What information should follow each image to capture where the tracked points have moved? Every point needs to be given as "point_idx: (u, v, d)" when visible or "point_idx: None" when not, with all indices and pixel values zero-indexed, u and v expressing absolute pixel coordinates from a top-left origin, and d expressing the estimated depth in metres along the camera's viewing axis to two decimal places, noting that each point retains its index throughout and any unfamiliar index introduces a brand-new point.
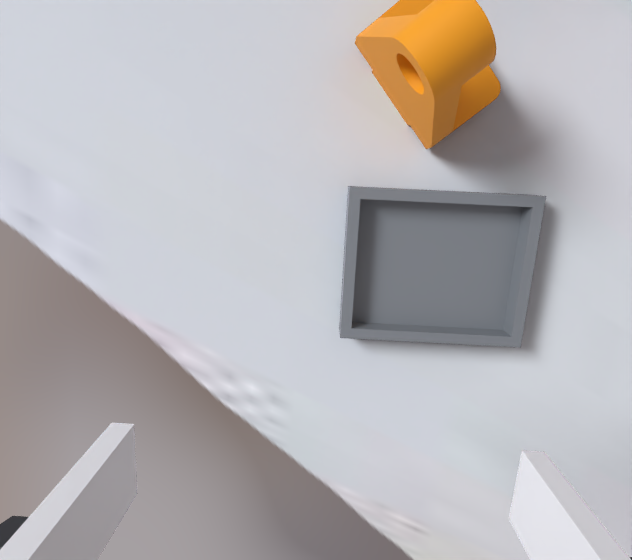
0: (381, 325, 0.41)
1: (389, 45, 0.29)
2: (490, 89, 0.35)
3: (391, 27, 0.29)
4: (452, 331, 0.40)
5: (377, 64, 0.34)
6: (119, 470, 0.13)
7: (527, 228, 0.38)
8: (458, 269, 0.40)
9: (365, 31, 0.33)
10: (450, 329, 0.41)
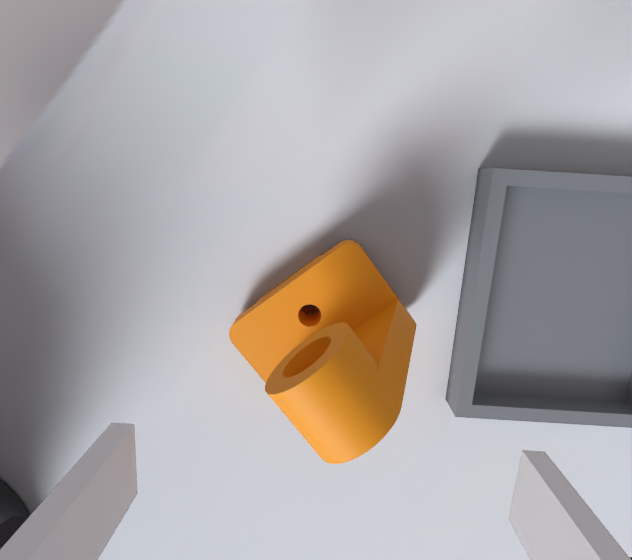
0: None
1: None
2: (350, 255, 0.27)
3: None
4: None
5: None
6: (119, 470, 0.13)
7: (534, 187, 0.27)
8: (573, 266, 0.29)
9: None
10: None
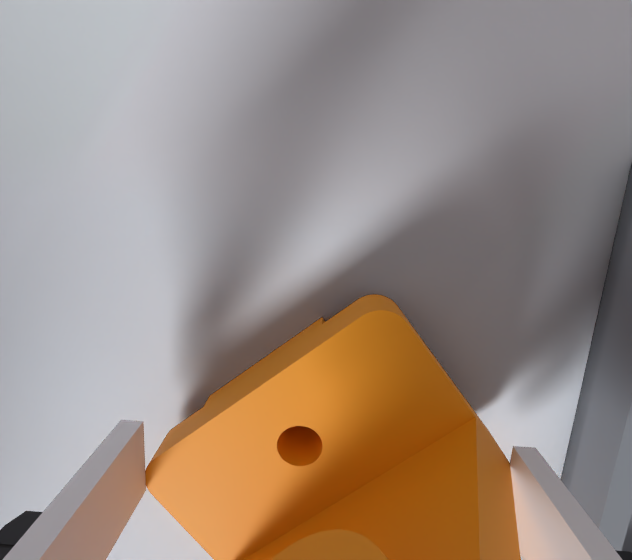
0: None
1: None
2: (382, 333, 0.13)
3: None
4: None
5: None
6: (129, 467, 0.13)
7: None
8: None
9: None
10: None
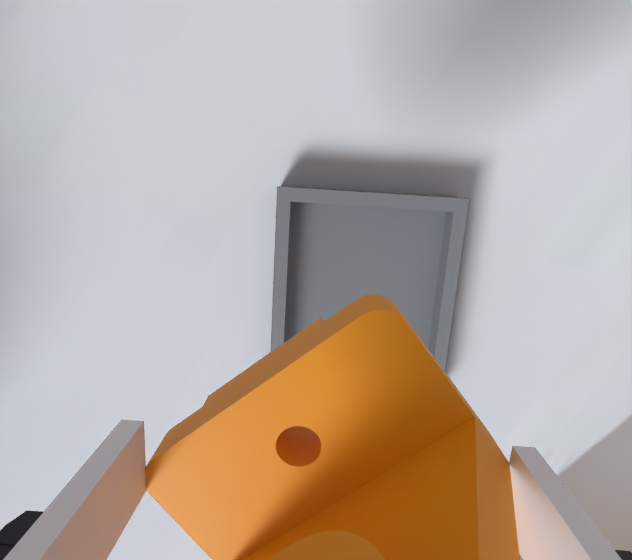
0: None
1: None
2: (380, 334, 0.13)
3: None
4: (442, 280, 0.33)
5: None
6: (129, 466, 0.13)
7: (316, 202, 0.31)
8: (366, 270, 0.34)
9: None
10: (440, 278, 0.34)
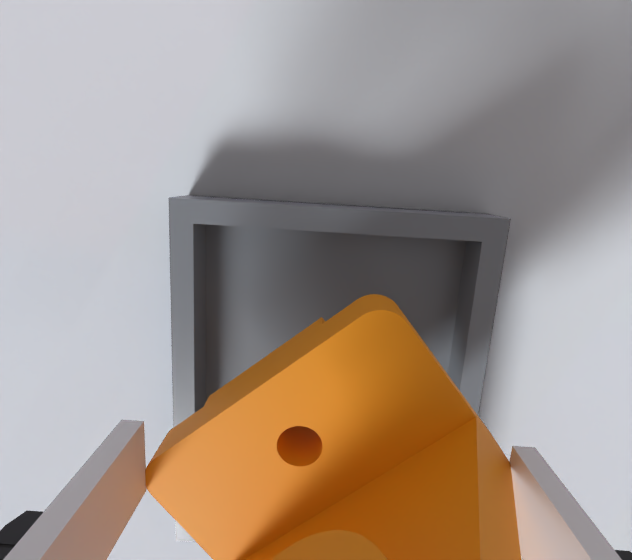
0: None
1: None
2: (382, 333, 0.13)
3: None
4: (460, 355, 0.19)
5: None
6: (129, 466, 0.13)
7: None
8: None
9: None
10: (456, 350, 0.20)
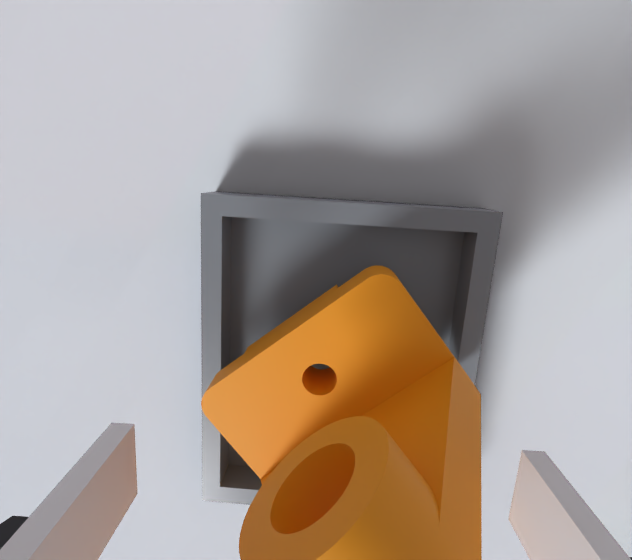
0: None
1: None
2: (382, 292, 0.18)
3: None
4: (458, 335, 0.22)
5: None
6: (119, 470, 0.13)
7: None
8: None
9: None
10: (454, 331, 0.22)
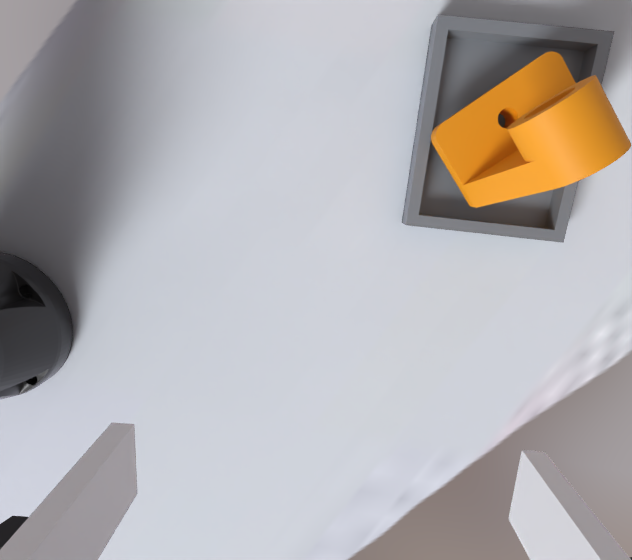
0: (555, 194, 0.38)
1: None
2: (551, 62, 0.32)
3: (522, 183, 0.29)
4: None
5: None
6: (119, 470, 0.13)
7: (470, 32, 0.35)
8: None
9: (479, 199, 0.34)
10: None
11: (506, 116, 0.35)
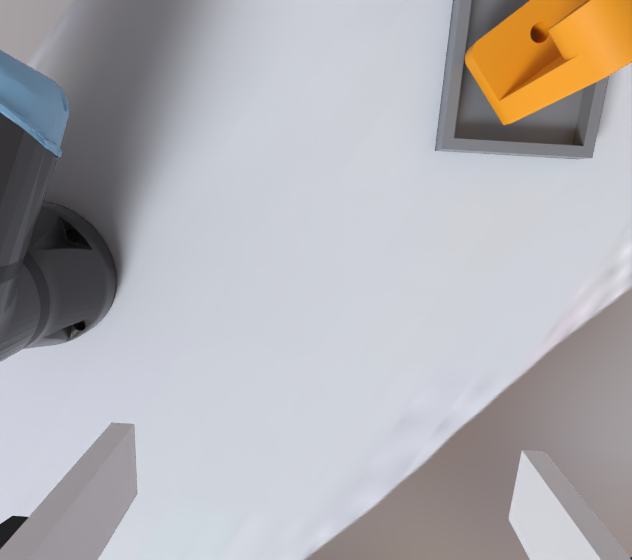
0: (582, 113, 0.40)
1: None
2: None
3: (563, 83, 0.31)
4: None
5: None
6: (119, 470, 0.13)
7: None
8: None
9: (515, 113, 0.36)
10: None
11: (535, 35, 0.37)
